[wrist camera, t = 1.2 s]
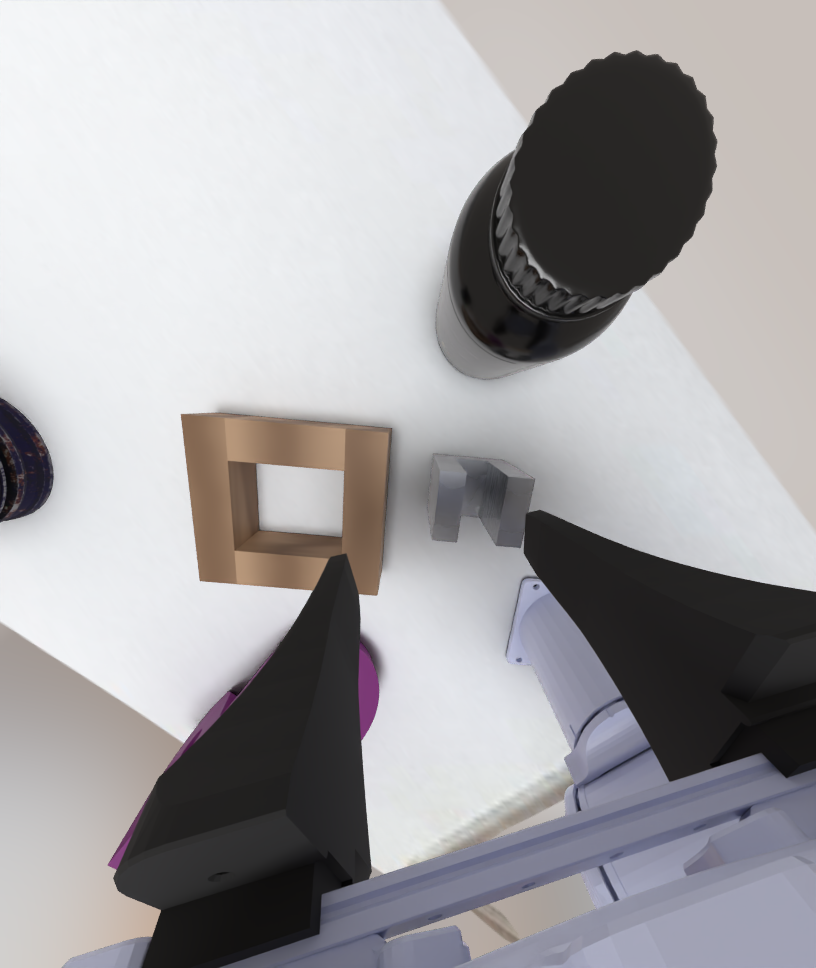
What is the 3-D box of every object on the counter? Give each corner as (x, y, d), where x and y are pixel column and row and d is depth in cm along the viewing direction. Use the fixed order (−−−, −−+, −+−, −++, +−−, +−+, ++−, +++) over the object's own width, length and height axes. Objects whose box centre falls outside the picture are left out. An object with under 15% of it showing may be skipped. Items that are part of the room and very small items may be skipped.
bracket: (503, 459, 21) (535, 479, 15) (493, 512, 22) (520, 547, 16) (432, 453, 21) (440, 470, 15) (427, 506, 22) (432, 540, 16)
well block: (391, 428, 20) (388, 432, 17) (381, 569, 23) (377, 595, 20) (216, 412, 20) (181, 414, 17) (228, 557, 23) (199, 581, 20)
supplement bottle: (517, 235, 17) (741, -120, 6) (558, 347, 19) (800, 254, 7) (413, 298, 18) (418, 105, 6) (460, 400, 20) (533, 393, 8)
